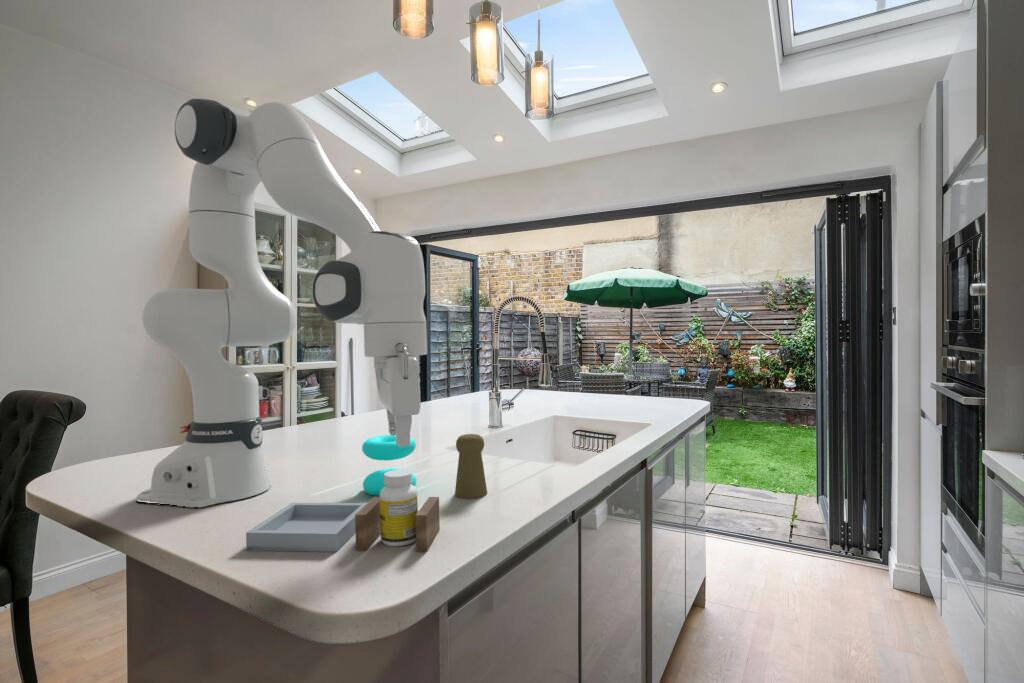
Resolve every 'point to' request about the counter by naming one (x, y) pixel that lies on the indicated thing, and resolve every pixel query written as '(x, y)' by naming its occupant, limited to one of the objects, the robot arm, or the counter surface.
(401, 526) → the supplement bottle
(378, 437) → the donuts
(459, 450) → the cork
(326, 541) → the grey tray
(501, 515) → the counter surface
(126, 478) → the counter surface
